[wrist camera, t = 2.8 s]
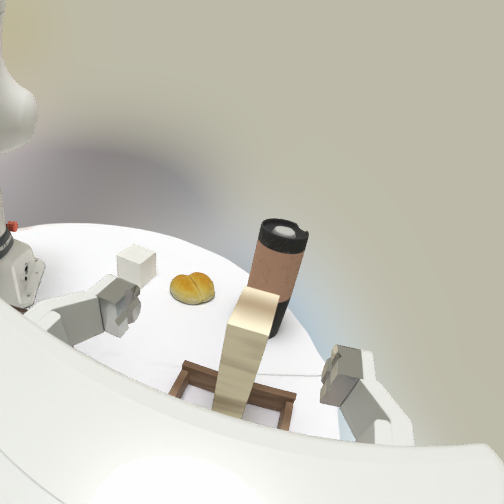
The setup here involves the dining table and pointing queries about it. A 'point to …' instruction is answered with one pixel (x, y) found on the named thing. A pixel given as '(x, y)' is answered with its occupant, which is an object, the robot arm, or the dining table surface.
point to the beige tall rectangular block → (243, 350)
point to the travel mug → (278, 262)
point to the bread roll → (192, 288)
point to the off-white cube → (136, 265)
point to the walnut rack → (258, 395)
